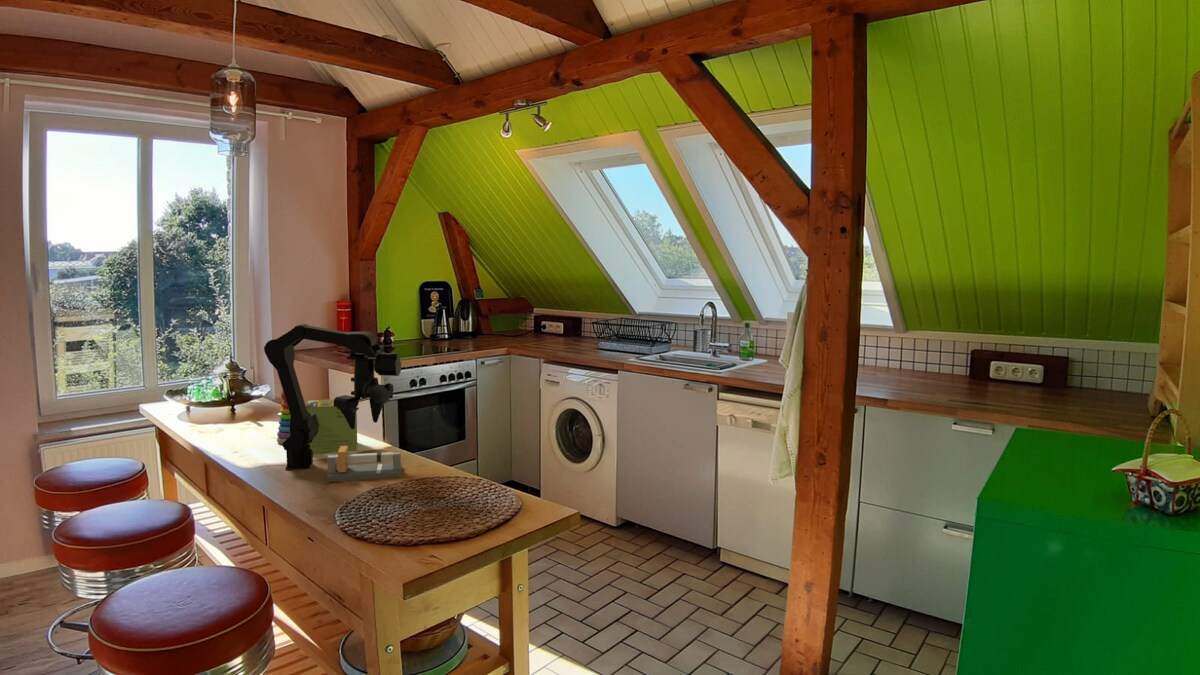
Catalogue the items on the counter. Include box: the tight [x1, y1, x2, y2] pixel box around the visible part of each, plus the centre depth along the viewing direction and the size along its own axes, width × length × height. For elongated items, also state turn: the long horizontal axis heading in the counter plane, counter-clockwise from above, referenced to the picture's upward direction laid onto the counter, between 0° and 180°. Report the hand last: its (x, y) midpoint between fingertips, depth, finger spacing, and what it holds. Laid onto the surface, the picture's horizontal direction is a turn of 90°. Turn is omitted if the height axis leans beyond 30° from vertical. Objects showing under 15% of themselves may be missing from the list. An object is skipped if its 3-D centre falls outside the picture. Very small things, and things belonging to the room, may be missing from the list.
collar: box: [337, 446, 349, 472], centre depth 196 cm, size 2×6×6 cm, turn 14°
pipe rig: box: [326, 450, 402, 482], centre depth 198 cm, size 20×9×6 cm, turn 104°
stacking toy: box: [276, 390, 290, 445], centre depth 228 cm, size 8×8×19 cm
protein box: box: [305, 398, 358, 455], centre depth 222 cm, size 10×15×16 cm
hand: (364, 425), depth 203 cm, fingers open, 9 cm apart
